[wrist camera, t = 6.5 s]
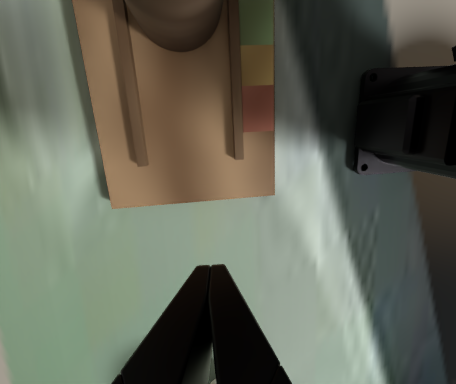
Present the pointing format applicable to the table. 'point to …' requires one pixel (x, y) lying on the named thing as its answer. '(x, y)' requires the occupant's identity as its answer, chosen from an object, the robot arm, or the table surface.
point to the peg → (177, 21)
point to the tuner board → (182, 106)
